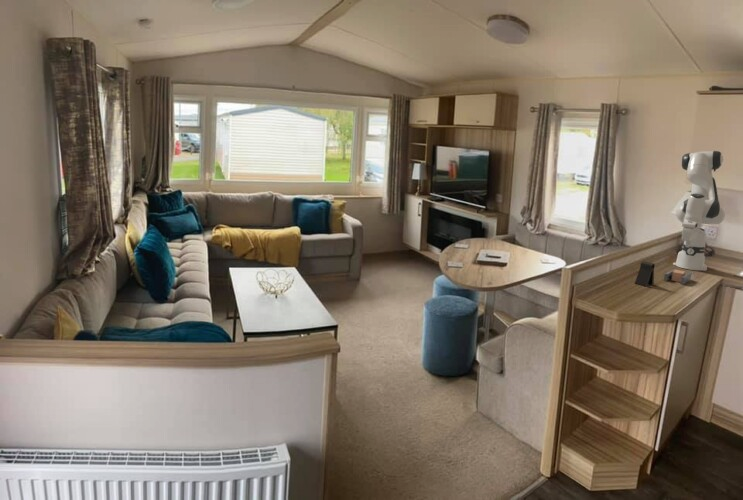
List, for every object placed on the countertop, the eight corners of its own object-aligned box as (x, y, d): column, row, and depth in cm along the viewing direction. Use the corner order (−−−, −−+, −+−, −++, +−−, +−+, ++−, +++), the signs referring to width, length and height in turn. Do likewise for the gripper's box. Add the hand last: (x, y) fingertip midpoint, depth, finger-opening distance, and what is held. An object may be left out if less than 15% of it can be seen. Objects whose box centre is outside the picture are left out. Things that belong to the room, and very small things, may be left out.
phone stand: (645, 286, 296) (649, 264, 293) (634, 283, 300) (638, 262, 298) (653, 284, 301) (657, 263, 298) (642, 281, 306) (646, 260, 303)
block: (673, 278, 319) (675, 269, 318) (683, 279, 316) (685, 271, 315) (671, 280, 313) (672, 272, 311) (681, 282, 310) (682, 273, 309)
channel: (671, 275, 323) (672, 269, 322) (690, 279, 316) (691, 273, 315) (663, 280, 311) (664, 273, 310) (683, 284, 304) (684, 277, 303)
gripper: (690, 220, 324) (686, 244, 327) (681, 223, 309) (677, 248, 312) (702, 222, 320) (698, 246, 323) (694, 225, 305) (689, 250, 308)
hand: (687, 247), depth 317 cm, fingers closed
